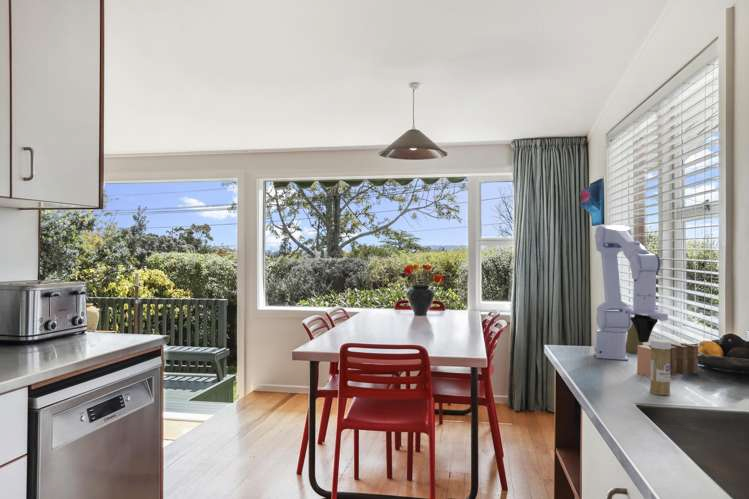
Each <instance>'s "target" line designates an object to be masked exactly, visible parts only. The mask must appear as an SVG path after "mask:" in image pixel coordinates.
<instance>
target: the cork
mask: <svg viewBox="0 0 749 499" xmlns="http://www.w3.org/2000/svg"><path fill="white" fill-rule="evenodd" d="M641 345H642V346H644V342H639V339H638V335H637V331H636V328H635V326H634V324H633V322H632V326H631V328H630V329H629V330H628V332H627V333H626V353H628V354H633V355H637V354H638V346H641Z"/></svg>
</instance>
